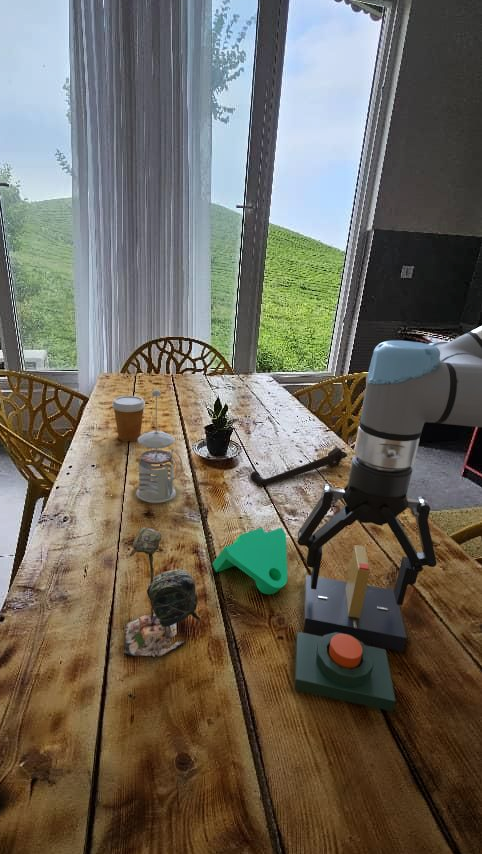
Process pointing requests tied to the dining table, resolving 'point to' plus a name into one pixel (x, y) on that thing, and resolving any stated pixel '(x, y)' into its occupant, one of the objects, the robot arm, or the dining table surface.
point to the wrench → (303, 467)
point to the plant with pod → (160, 603)
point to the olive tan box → (357, 581)
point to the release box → (343, 673)
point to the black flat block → (373, 626)
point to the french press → (162, 486)
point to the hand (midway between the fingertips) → (354, 590)
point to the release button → (345, 651)
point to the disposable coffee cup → (128, 416)
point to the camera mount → (258, 558)
